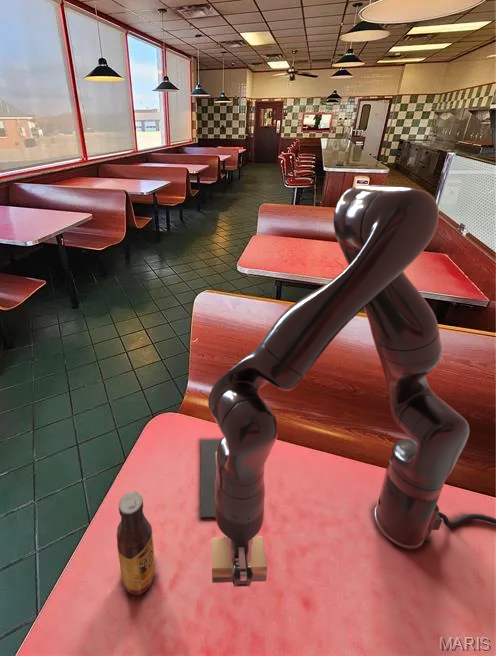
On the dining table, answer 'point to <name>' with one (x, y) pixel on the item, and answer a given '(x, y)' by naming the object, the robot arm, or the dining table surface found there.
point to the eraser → (224, 566)
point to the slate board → (208, 477)
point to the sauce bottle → (135, 545)
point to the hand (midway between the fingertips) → (237, 563)
